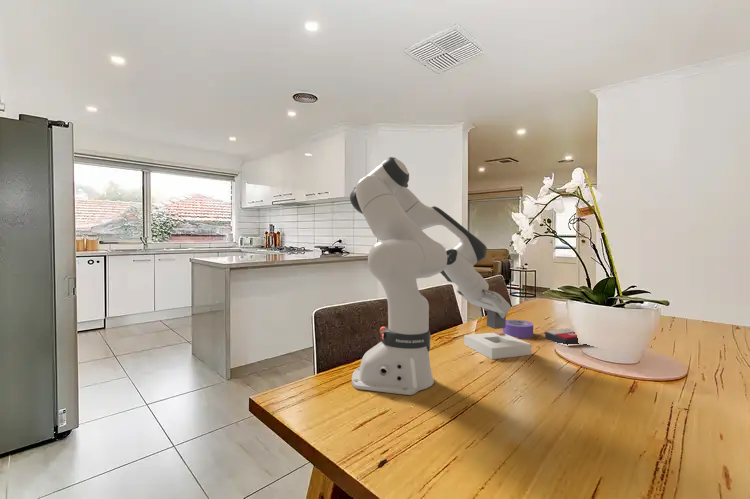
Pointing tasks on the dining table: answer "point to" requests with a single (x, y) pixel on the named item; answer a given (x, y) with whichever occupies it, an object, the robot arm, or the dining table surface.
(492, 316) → the plug
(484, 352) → the socket
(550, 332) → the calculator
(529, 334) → the tape roll
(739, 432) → the dining table surface
